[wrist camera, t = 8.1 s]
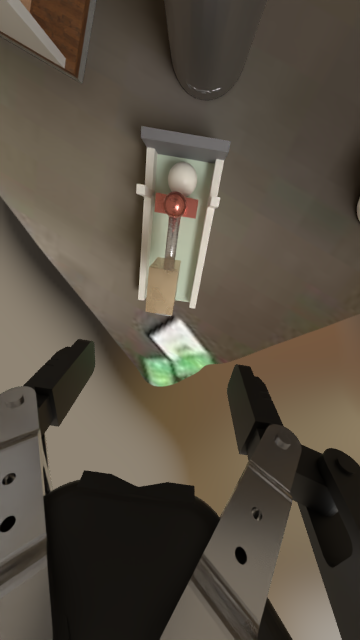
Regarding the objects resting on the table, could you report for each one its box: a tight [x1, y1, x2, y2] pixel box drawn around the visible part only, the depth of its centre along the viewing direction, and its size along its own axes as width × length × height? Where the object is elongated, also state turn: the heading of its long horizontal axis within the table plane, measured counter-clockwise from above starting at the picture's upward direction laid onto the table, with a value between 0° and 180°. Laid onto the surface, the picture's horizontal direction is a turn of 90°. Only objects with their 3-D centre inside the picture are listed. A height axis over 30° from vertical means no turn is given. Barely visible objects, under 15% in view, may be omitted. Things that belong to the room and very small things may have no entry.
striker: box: [146, 191, 199, 316], centre depth 26 cm, size 12×5×14 cm, turn 172°
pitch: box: [136, 126, 231, 316], centre depth 30 cm, size 22×10×8 cm, turn 172°
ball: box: [168, 162, 197, 197], centre depth 28 cm, size 4×4×4 cm
